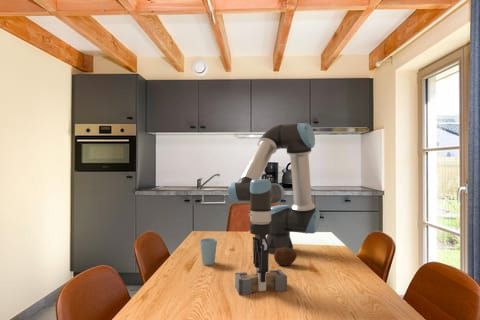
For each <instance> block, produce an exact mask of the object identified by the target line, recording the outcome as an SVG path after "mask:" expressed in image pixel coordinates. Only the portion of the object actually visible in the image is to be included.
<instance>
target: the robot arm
mask: <svg viewBox="0 0 480 320" xmlns="http://www.w3.org/2000/svg"><path fill="white" fill-rule="evenodd" d="M315 145H316V137H315V132H314V129H313V128H312V125H311V124H309V123H304V122H303V123H301V122H298V123H288V124H277V125H275V126H273V127H270V128H269V129H268V130H266V131H265V132H264V133H263V134H262V135H261V137H260V138H259V140H258V142H257V148H256V150H255V151H254V153H253V154H252V157H251V158H250V160H249V162H248V164H247V166H246V168H245V169H244V170H243V172H242V174H241V176H240V178H239V179H238V181H237V182H236V181H235V182H231V183H230V184H229V185H228V188H227V195H228V198H229V199H230V200H231V201H235V202H246V203H248V202H249V207H250V208H249V212H250V213H248V217H250V218H249V219H250V223H249V233H250V234H251V235H254V236H252V249H253V252H252V254H253V255H252V257H253V259H252V260H253V261H252V262H253V264H254V274H258V291H257V292H266V273H269V255H270V254H272V255H274V253H275V251H276V249H277V248H283V247H287V248H289V249H292V250H293V251H294V244H293V241H292V239H291V238H292V237H291V234H290V233H291V232H293V233H301V234H306V235H307V234H315V233H316V232H317V230H318V229H319V225H320V220H321V219H320V218H321V213H320V211H319V210H318V209H316V205H315V204H314V202H312V200H313V199H312V189H311V173H310V159H309V154H311V152H312V149H313V148H314V147H315ZM280 149H284V150H285V149H286V154H287V155H289V158H290V169H291V181H292V183H291V184H292V193H293V194H292V195H293V204H292V205H291V207H290V205H289V204H281V205H280V204H279V205H273V206H272V204H277V203H279V202H281V201H282V200H283V198H284V197H285V190H284V187H283V186H282V185H281V184H280V183H275V182H271V180H270V179H265V178H262V179H261V177H262V175H263V173H264V171H265V169H266V167H267V165H268V163H269V161H270V159H271V157H272V156H273V155H274V154H276V152H277V150H280Z"/></svg>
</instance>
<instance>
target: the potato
mask: <svg viewBox="0 0 480 320" xmlns="http://www.w3.org/2000/svg"><path fill="white" fill-rule="evenodd" d="M273 258H274V261H275V263H276V264H277V265H279V266H291V265H292V264H293V263H294V262H295V261H296V259H297V258H298V257H297V253H296V252H295V251H294V249H293V250H292V249H289V248H287V247H283V248H277V249H276V251H275V253H274V254H273Z"/></svg>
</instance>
